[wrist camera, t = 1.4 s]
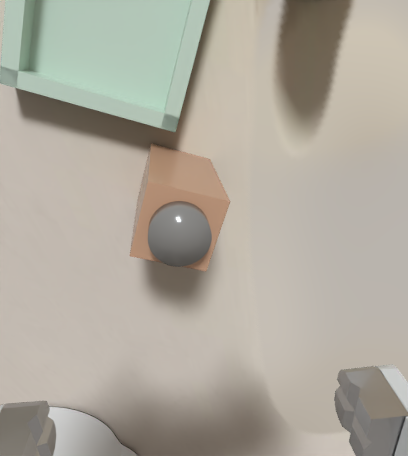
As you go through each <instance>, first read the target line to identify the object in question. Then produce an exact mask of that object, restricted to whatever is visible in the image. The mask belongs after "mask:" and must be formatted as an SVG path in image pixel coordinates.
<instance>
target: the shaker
mask: <svg viewBox="0 0 408 456" xmlns="http://www.w3.org/2000/svg"><path fill="white" fill-rule="evenodd" d="M229 204H230V200H229V198H228V196H227V194H226V192H225V190H224V188H223V185H222V183H221V181H220V179H219V177H218V175H217V173H216V171H215V169H214V167H213V164H212V162H211V160H210V159H207V158H204V157H200V156H196V155H192V154H189V153H185V152H181V151H178V150H174V149H170V148H166V147H163V146H159V145H155V144H152V143H151V146H150V150H149V154H148V159H147V163H146V167H145V171H144V175H143V179H142V184H141V188H140V192H139V196H138V201H137V208H136V215H135V222H134V229H133V236H132V243H131V250H130V256H132V257H137V258H142V259H147V260H152V261H157V262H162V263H165V264H167V265H170V266H178V267H181V266H182V267H187V268H192V269H197V270H202V271H206V270H207V268H208V265H209V262H210V259H211V256H212V253H213V250H214V247H215V244H216V241H217V239H218V236H219V233H220V230H221V227H222V224H223V221H224V218H225V215H226V212H227V209H228V207H229Z"/></svg>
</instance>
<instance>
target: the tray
mask: <svg viewBox="0 0 408 456" xmlns="http://www.w3.org/2000/svg"><path fill="white" fill-rule="evenodd" d="M209 2H210V0H5V13H4V27H3V40H2V54H1V68H0V84H4V85H7V86H11V87H15V88H18V89H22V90H25V91H29V92H32V93H36V94H40V95H43V96H47V97H50V98H54V99H58V100H61V101H65V102H68V103H72V104H75V105H79V106H83V107H86V108H90V109H93V110H97V111H100V112H104V113H108V114H111V115H115V116H118V117H122V118H126V119H129V120H133V121H136V122H140V123H143V124H147V125H151V126H154V127H158V128H161V129H165V130H169V131H172V132H176V128H177V124H178V120H179V117H180V113H181V109H182V105H183V101H184V98H185V94H186V90H187V86H188V82H189V78H190V75H191V71H192V67H193V63H194V59H195V56H196V52H197V48H198V44H199V40H200V36H201V33H202V29H203V25H204V21H205V17H206V14H207V10H208V6H209Z"/></svg>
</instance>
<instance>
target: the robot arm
mask: <svg viewBox="0 0 408 456" xmlns="http://www.w3.org/2000/svg"><path fill="white" fill-rule="evenodd" d="M337 380H338V382H339V384H340V387H339V388H338V389H337V390H336V391H335V398H334V401H335V408H336V412H337V415H338V418H339V420H340V423H341V425H342V427H344V428H345V429H346V430H348V431H349V432H350V433H351V434H350V439H349V442H350V444H351V447H352V449H353V451H354V453H355V455H356V456H408V382H407V381H406V380H405V378H404V377H403V375H402V374H401V373H400V371H399V370H398V369H397V367H395V366H394V365H383V366H375V367H373V366H371V367H363V368H354V369H346V370H340V372H339V373H338V378H337ZM0 456H137V454H136V453H135V452H133V451H132V450H130V449H129V448H127V447H125V446H123V445H122V444H121V443H120V442H119V441H118V440H117V438H116V437H115V435H114V434H113V432H112V431H111V430H110V429H109V428H108V427H107V426H106V425H105V424H104V423H102V422H101V421H99V420H98V419H96V418H94V417H92V416H90V415H88V414H85V413H82V412H79V411H76V410H72V409H67V408H59V407H49V405H48V403H47V401H35V402H21V403H8V404H0Z"/></svg>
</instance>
